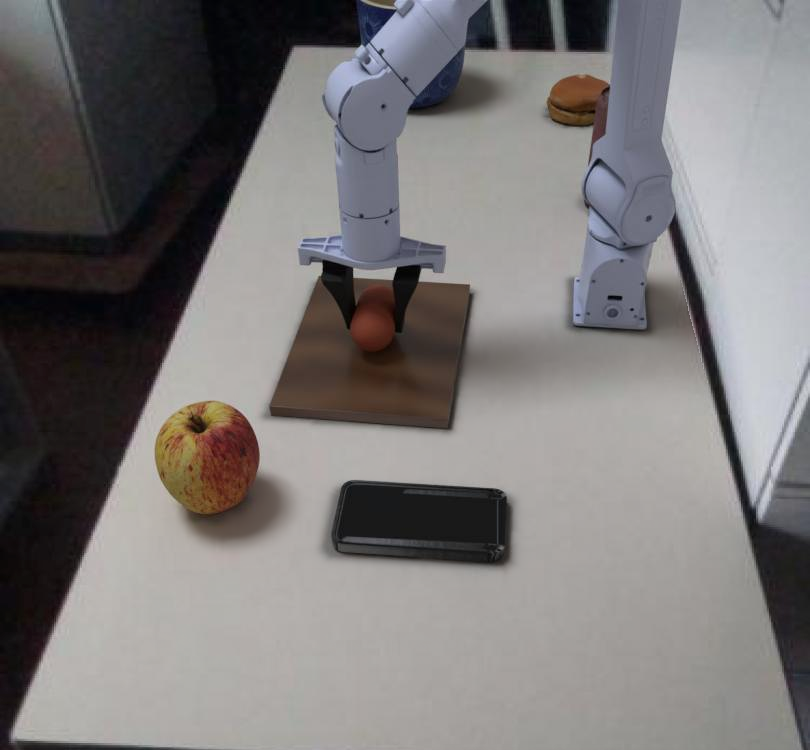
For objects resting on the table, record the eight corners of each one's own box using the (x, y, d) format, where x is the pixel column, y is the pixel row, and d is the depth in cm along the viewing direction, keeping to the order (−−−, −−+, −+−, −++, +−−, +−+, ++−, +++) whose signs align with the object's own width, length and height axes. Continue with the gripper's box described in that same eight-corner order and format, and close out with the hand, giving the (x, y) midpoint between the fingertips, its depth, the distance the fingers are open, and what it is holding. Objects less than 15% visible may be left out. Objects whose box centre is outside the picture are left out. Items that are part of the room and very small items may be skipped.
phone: (504, 554, 72) (328, 542, 73) (503, 563, 73) (330, 551, 74) (507, 488, 77) (343, 477, 78) (506, 496, 78) (344, 486, 79)
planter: (354, 82, 142) (347, -24, 130) (454, 72, 144) (456, -34, 132) (370, 124, 131) (364, 13, 119) (478, 113, 133) (482, 2, 121)
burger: (559, 130, 128) (562, 97, 124) (538, 105, 134) (541, 73, 131) (620, 122, 129) (625, 89, 126) (597, 98, 135) (601, 66, 132)
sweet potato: (391, 362, 89) (389, 324, 85) (348, 359, 89) (344, 321, 86) (403, 314, 94) (402, 277, 91) (362, 312, 95) (359, 275, 91)
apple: (246, 542, 75) (226, 459, 68) (152, 526, 77) (121, 443, 69) (280, 471, 81) (264, 388, 73) (191, 458, 82) (167, 374, 75)
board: (447, 428, 84) (447, 419, 83) (270, 415, 86) (269, 406, 85) (469, 293, 100) (470, 284, 99) (319, 284, 102) (318, 275, 101)
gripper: (450, 187, 82) (447, 308, 93) (303, 180, 84) (317, 300, 94) (441, 224, 78) (440, 347, 88) (286, 216, 79) (303, 338, 90)
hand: (376, 325), depth 91 cm, fingers closed on sweet potato, 4 cm apart
